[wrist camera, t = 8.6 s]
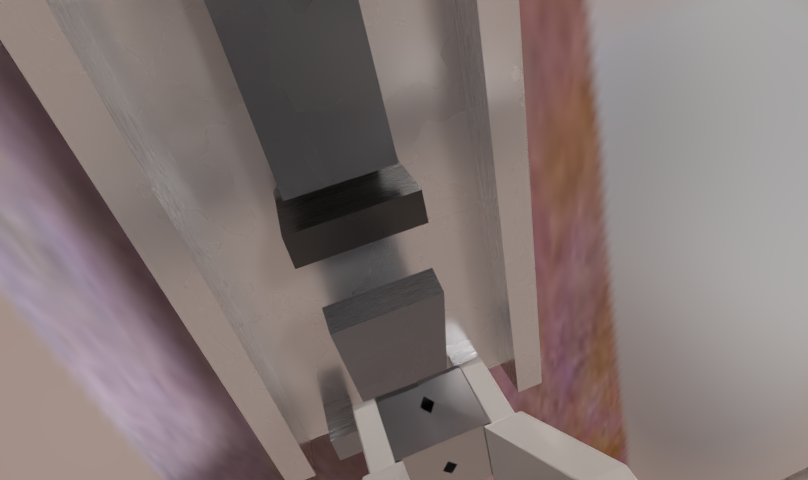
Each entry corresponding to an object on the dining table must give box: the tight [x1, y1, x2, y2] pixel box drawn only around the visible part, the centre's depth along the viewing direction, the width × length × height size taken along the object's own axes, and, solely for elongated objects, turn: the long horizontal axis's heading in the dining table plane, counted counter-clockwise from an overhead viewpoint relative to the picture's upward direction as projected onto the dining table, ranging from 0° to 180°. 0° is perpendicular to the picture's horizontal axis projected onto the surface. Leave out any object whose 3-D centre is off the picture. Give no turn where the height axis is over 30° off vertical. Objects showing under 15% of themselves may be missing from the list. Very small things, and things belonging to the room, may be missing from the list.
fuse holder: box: [0, 0, 542, 480], centre depth 15 cm, size 21×11×7 cm, turn 12°
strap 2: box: [322, 268, 447, 402], centre depth 15 cm, size 8×3×1 cm, turn 11°
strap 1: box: [204, 0, 398, 201], centre depth 10 cm, size 8×3×1 cm, turn 12°
